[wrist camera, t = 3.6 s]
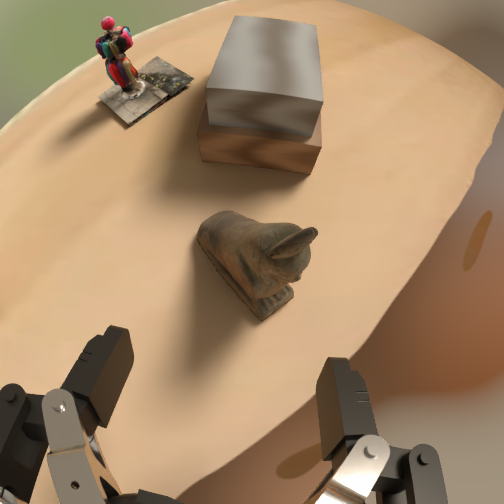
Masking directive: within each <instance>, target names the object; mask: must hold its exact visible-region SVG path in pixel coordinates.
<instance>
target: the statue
mask: <svg viewBox="0 0 504 504" xmlns="http://www.w3.org/2000/svg"><path fill="white" fill-rule="evenodd" d="M114 24H115V23H114V20H113V19H112V18H111V17H105V18H104V19H103V20H102V22H101V26H102V28H103V29H104V30H106V32H105V35H104V36H99V38H98V39H97V40H96V48H97V50H98V53H99V54H100V55H101V56H102V58H103V59H106V58H107V59H106V61H105V66H106V71H107V74H108V76H109V78H110V79H111V80H112V81H113V82H114V84H115V85H113V86H112V87H111V88H109V89H108V90H107V91H105V92H104V93H103V94H101V95H100V96H99V98H100V99H101V100H102V102H103V103H104V104H106V105H107V106H109V107H110V108H111V109H112V110H113V111H114V113H116V115H118V116H120V117H121V118H122V119H123V120H124V121H125V122H126V123H127V125H129V124H130V125H131V126H132V125H133V124H135V122H134V120H135V121H136V122H138V121H139V120H140V119H139V118H141V117H143V118H144V117H145V116H147V115H148V114H149V112H151V111H153V110H154V109H155V108H157V107H158V106H159V105H160V104H162V103H163V102H165V101H166V99H167V97H165V96H167V95H168V96H169V97H171V98H172V96H173V95H174V94H175V95H174V96H175V97H176V95H178V93H180V92H181V91H182V88H183V87H184V86H186V85H187V84H190V82H191V81H192V80H193V79H194V78H193V77H191V76H189V75H187V74H186V73H184V72H182V71H181V70H179V69H177V68H175V67H174V66H172V65H171V64H169V63H167V62H166V61H164V60H162V59H161V58H159V57H155V58H154V59H152V60H151V61H149V62H148V63H147V64H146V65H144V66H143V67H142V68H141V69H139V70H138V71H137V70H136V69H135V68H134V67H133V66H132V64H131V62H130V60H129V59H128V58H127V57H126V54H124V52H125V51H126V50H128V49H129V48H130V47H132V45H133V42H132V38H131V34H130V30H129V28H128V27H123V28H122V27H117V28H116V29H115V28H114ZM138 119H139V120H138ZM131 126H129V127H131Z"/></svg>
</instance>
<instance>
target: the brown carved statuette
mask: <svg viewBox="0 0 504 504" xmlns="http://www.w3.org/2000/svg"><path fill="white" fill-rule="evenodd" d="M317 235H318V231H317V229H315V228H314V227H309V228H306V229H303V230H302V229H301V228H300V227H299V226H297V225H295V224H292V223H266V224H265V223H259V222H257V221H255V220H252V219H249V218H246V217H244V216H242V215H240V214H237V213H235V212H233V211H223V212H219V213H217V214H215V215H213V216H211V217H210V218H208V219H207V220H206V221H204V222H203V223H202V224H201V226H200V228H199V230H198V238H197V241H198V243H199V245H200V246H201V247H202V249H203V251H204V252H205V254H207V256H208V258H209V259H210V260H211V261H212V262H213V265H214V266H215V267H216V271H217V272H218V273H219V274H220V275H221V276H222V278H223V279H224V280H225V281H226V282H227V284H228V285H230V286H231V288H232V289H233V290H234V291H235V293H236V294H237V296H238V297H239V298H240V299H241V300H242V301H243V303H245V304H246V306H248V307H249V308H250V309H251V311H252V312H253V314H254V315H255V316H256V317H257V318H258V319H259V320H261V321H263V320H264V319H266V318H267V317H269V316H270V315H271V314H272V313H274V312H275V311H276V310H277V309H278V308H280V307H281V306H282V305H283V304H285V303H286V302H287V301H289V300H291V299H292V298H293V296H294V292H293V289H292V287H291V286H290V285H289V284H288V283H289V282H290V283H293V282H296V281H298V280H300V279H301V274H302V271H303V270H304V269H305V268H306V267H307V266H308V264H309V262H310V257H311V252H310V245H309V244H310V243H311V242H312V241H313V240H314V239H315V237H316V236H317Z"/></svg>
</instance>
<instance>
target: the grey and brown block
mask: <svg viewBox="0 0 504 504" xmlns="http://www.w3.org/2000/svg"><path fill="white" fill-rule="evenodd" d="M206 97H207V102H206V105H205V108H204V111H203V115H202V118H201V121H200V124H199V127H198V131H197V134H198V140H199V146H200V152H201V158H202V161H207V162H219V163H229V164H238V165H247V166H256V167H264V168H271V169H279V170H286V171H292V172H299V173H305V174H311V172H312V170H313V167H314V165H315V162H316V160H317V157H318V155H319V152H320V150H321V147H322V141H321V113H320V111H321V108H322V105H323V88H322V76H321V65H320V55H319V45H318V37H317V29H316V25H311V24H306V23H300V22H294V21H287V20H280V19H271V18H261V17H249V16H235V17H234V19H233V21H232V24H231V26H230V28H229V30H228V33H227V35H226V37H225V40H224V42H223V44H222V47H221V49H220V52H219V54H218V56H217V59H216V61H215V64H214V67H213V69H212V72H211V74H210V77H209V80H208V82H207V85H206Z"/></svg>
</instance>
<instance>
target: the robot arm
mask: <svg viewBox="0 0 504 504" xmlns="http://www.w3.org/2000/svg"><path fill="white" fill-rule="evenodd" d="M133 362H134V353H133V348H132V344H131V339H130V334H129V331H128V329H126V328H121V327H117V326H113V325H110V326H109V327H108V328H107V330H106V331H105V333H104V335H103V336H102V335H96V336H95V337H94V338H92V339H91V340H90V341H88V343H87V345H86V346H85V348H84V349H83V352H82V353H81V354H80V356H79V358H78V360H77V361H76V362H75V364H74V366H73V367H72V369H71V371H70V373H69V374H68V376H67V378H66V379H65V381H64V383H63V385H62V386H61V387H60V389H54V390H51V391H49V392H48V393H47V394H46V395H36V394H27V393H26V392H25V391H24V389H23V388H22V387H21V386H20V385H18V384H8V385H6V386H4V387H3V388H2V389H1V390H0V504H29V502H30V499H31V495H32V492H33V489H34V486H35V482H36V479H37V476H38V473H39V470H40V467H41V464H42V462H43V459H44V456H45V453H46V451H47V448H48V445H49V446H50V453H48V454H47V462H48V466H49V469H50V473H51V476H52V480H53V483H54V486H55V489H56V492H57V495H58V498H59V501H60V504H184V503H181V502H179V501H177V500H174V499H172V498H170V497H168V496H163V495H159V494H155V493H152V492H148V491H144V490H141V489H139V491H138V494H136V493H132V494H122V493H121V491H120V488H119V486H118V485H117V483H116V481H115V479H114V478H113V476H112V474H111V473H110V471H109V468H108V466H107V463H106V461H105V458H104V456H103V453H102V451H101V448H100V445H99V442H98V439H97V437H96V434H95V431H96V428H97V426H101V427H104V428H107V425H108V423H109V420H110V418H111V415H112V413H113V411H114V408H115V406H116V403H117V401H118V399H119V396H120V394H121V392H122V389H123V387H124V385H125V382H126V380H127V378H128V375H129V373H130V371H131V369H132V366H133ZM316 399H317V407H318V417H319V426H320V436H321V447H322V458H323V461H331V460H332V468H331V469H330V470H329V472H328V473H327V474H326V476H325V477H324V478H323V480H322V481H321V482H320V484H319V485H318V486H317V487H316V489H315V490H314V491H313V492H312V493H311V495H310V496H309V497H308V498H307V499H306V501H305V502H304V503H303V504H365V499H366V497H367V496H368V494H369V492H370V491H376V501H377V502H376V503H377V504H448V500H447V495H446V489H445V484H444V479H443V474H442V469H441V465H440V460H439V456H438V453H437V451H436V450H435V449H434V448H433V447H432V446H430V445H427V444H419V445H417V446H415V447H414V448H413V449H412V450H409V449H402V448H396V447H392V446H389V445H388V443H387V442H386V441H385V440H384V439H383V438H381V437H379V435H378V432H377V428H376V424H375V419H374V415H373V411H372V407H371V404H370V402H369V400H370V399H369V395H368V393H367V388H366V384H365V380H364V379H363V378H362V376H361V375H360V374H359V372H358V371H351V370H350V366H349V362H348V359H347V358H337V357H328V358H327V360H326V362H325V364H324V367H323V369H322V371H321V373H320V376H319V378H318V380H317V384H316Z"/></svg>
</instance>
